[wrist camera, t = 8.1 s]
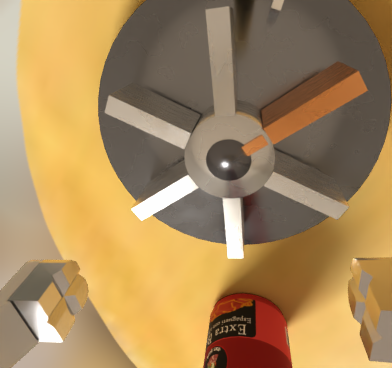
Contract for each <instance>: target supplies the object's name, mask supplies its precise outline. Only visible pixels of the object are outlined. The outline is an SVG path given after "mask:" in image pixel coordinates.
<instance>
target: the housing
mask: <svg viewBox="0 0 392 368" xmlns="http://www.w3.org/2000/svg"><path fill="white" fill-rule="evenodd" d="M226 6H230V7H231V8H233V13H234V33H235V52H236V72H237V91H238V100H241V101H245V102H248V103H250V104H252V105H254V106H255V107H257V108H258V109H259V110H260V111H261V110H262V109H264V108H265V107H267V106H268V105H270V104H271V103H273V102H274V101H276V100H278V99H279V98H281V97H282V96H284V95H285V94H287V93H289V92H290V91H292V90H293V89H295V88H296V87H298V86H299V85H301V84H303V83H304V82H306V81H307V80H309V79H310V78H312V77H313V76H315V75H317V74H318V73H320V72H321V71H323V70H324V69H326V68H327V67H329V66H331V65H332V64H334V63H335V62H337V61H339V62H341V63H343V64H345V65H347V66H349V67H351V68H353V69H356V70H358V71H359V73H360V75H361V77H362V79H363V81H364V83H365V85H366V87H367V90H368V91H366V92H365V93H363V94H361V95H359V96H358V97H356V98H354V99H352V100H351V101H349V102H347V103H345V104H344V105H342V106H340V107H338V108H337V109H335V110H333V111H331V112H330V113H328V114H326V115H325V116H323V117H321V118H319V119H318V120H316V121H314V122H312V123H311V124H309V125H307V126H305V127H304V128H302V129H300V130H298V131H297V132H295V133H293V134H291V135H290V136H288V137H286V138H284V139H283V140H281V141H279V142H277V143H276V144H273V146H274V149H275V150H277V151H279V152H281V153H283V154H285V155H287V156H289V157H292V158H294V159H296V160H298V161H300V162H302V163H304V164H306V165H309V166H311V167H313V168H315V169H317V170H319V171H321V172H323V173H326V174H328V175H330V176H332V177H334V179H335V181H336V183H337V185H338V187H339V188H340V190H341V192H342V194H343V196H344V198H345V200H346V202H347V201H348V200H349V199H350V198H351V197H352V196H353V195H354V194H355V193H356V192H357V191H358V189H359V188H360V187H361V185H362V184H363V183H364V181H365V180H366V179H367V177H368V176H369V174H370V172H371V170H372V169H373V167H374V165H375V163H376V162H377V160H378V157H379V155H380V152H381V150H382V147H383V145H384V142H385V138H386V134H387V130H388V126H389V120H390V110H391V90H390V79H389V74H388V70H387V65H386V60H385V58H384V55H383V53H382V50H381V47H380V45H379V42H378V40H377V38H376V36H375V35H374V33H373V31H372V30H371V28H370V26H369V25H368V23H367V21H366V20H365V18H364V17H363V16H362V15H361V14H360V13H359V11H358V10H357V9H356V8H355V7H354V6H353V4H352V3H351V2H350V1H349V0H146V1H145V2H144V3H143V4H142V5H140V6H139V7H138V8H137V9H136V10H135V12H134V13H133V14H132V15H131V17H130V18H129V19H128V20H127V22H126V23H125V24H124V25H123V27H122V29H121V30H120V32H119V34H118V36H117V37H116V39H115V41H114V42H113V44H112V47H111V49H110V52H109V54H108V56H107V59H106V61H105V65H104V69H103V72H102V76H101V81H100V88H99V96H98V116H99V124H100V131H101V136H102V139H103V143H104V147H105V150H106V153H107V155H108V158H109V160H110V163H111V165H112V167H113V169H114V170H115V172H116V174H117V176H118V178H119V179H120V181H121V182H122V184H123V185H124V186H125V188H126V189H127V191H128V192H129V193H130V194H131V195H132V196H133V197H134V199H135V200H136V201H137V199H138V198H139V196H140V194H141V193H142V191H143V190H144V188H145V186H146V185H147V183H148V182H150V181H151V180H153V179H154V178H156V177H158V176H159V175H161V174H162V173H164V172H165V171H167V170H169V169H170V168H172V167H173V166H175V165H176V164H178V163H179V162H181V161H183V160H184V159H185V158H184V156H185V149H182V148H180V147H178V146H176V145H173V144H171V143H169V142H167V141H165V140H163V139H160V138H158V137H156V136H154V135H152V134H150V133H147V132H145V131H143V130H141V129H139V128H136V127H134V126H132V125H130V124H128V123H126V122H123V121H121V120H119V119H117V118H115V117H113V116H110V115H108V114H106V113H105V109H106V105H107V101H108V97H109V95H110V94H112V93H114V92H116V91H118V90H119V89H121V88H123V87H125V86H127V85H129V84H131V83H134V84H136V85H138V86H141V87H143V88H145V89H147V90H149V91H151V92H153V93H155V94H158V95H160V96H162V97H164V98H166V99H168V100H170V101H172V102H175V103H177V104H179V105H181V106H183V107H185V108H187V109H190V110H192V111H194V112H196V113H198V114H200V117H201V115H202V114H203V113H204V112H205V111H206V110H207V109H208V108H209V107H210V106H212V105H214V98H213V87H212V76H211V66H210V55H209V44H208V33H207V22H206V11H205V10H206V9H213V8H220V7H226ZM185 148H186V147H185ZM243 208H244V245H247V244H260V243H266V242H273V241H276V240H280V239H284V238H288V237H290V236H293V235H296V234H298V233H301V232H303V231H305V230H307V229H309V228H311V227H313V226H315V225H317V224H319V223H320V222H322V221H323V220H325V219H326V218H328V217H329V216H328V215H326V214H324V213H321V212H319V211H317V210H315V209H313V208H311V207H308V206H306V205H304V204H302V203H300V202H298V201H295V200H293V199H291V198H289V197H287V196H284V195H282V194H280V193H278V192H276V191H274V190H271V189H269V188H267V187H265V186H264V185H263V186H262V187H261V188H260V189H259V190H257V191H256V192H254V193H252V194H250V195H247V196H244V197H243ZM152 215H153V216H155V217H156V218H157V219H159V220H160V221H162V222H163V223H165V224H167V225H168V226H170V227H172V228H174V229H176V230H178V231H180V232H182V233H184V234H187V235H190V236H193V237H196V238H198V239H202V240H207V241H211V242H216V243H223V244H227V241H226V230H225V219H224V208H223V198H220V197H217V196H214V195H211V194H209V193H207V192H205V191H204V190H202V189H201V188H200V187H199V188H197V189H196V190H194V191H192V192H190V193H189V194H187V195H185V196H183V197H182V198H180V199H178V200H176V201H175V202H173V203H171V204H169V205H168V206H166V207H164V208H162V209H161V210H159V211H157V212H155V213H154V214H152Z"/></svg>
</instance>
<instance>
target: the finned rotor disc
mask: <svg viewBox="0 0 392 368" xmlns="http://www.w3.org/2000/svg"><path fill="white" fill-rule="evenodd" d="M205 11H206V22H207V33H208V44H209V55H210V66H211V76H212V87H213V98H214V105H212V106H210V107H209V108H208V109H207V110H206V111H205V112H204V113H203V114H202V115H201V117H200V114H198V113H196V112H194V111H192V110H190V109H187V108H185V107H183V106H181V105H179V104H177V103H175V102H172V101H170V100H168V99H166V98H164V97H162V96H160V95H158V94H155V93H153V92H151V91H149V90H147V89H145V88H143V87H141V86H138V85H136V84H134V83H131V84H129V85H127V86H125V87H123V88H121V89H119V90H118V91H116V92H114V93H112V94H110V95H109V97H108V101H107V105H106V109H105V113H106V114H108V115H110V116H113V117H115V118H117V119H119V120H121V121H123V122H126V123H128V124H130V125H132V126H134V127H136V128H139V129H141V130H143V131H145V132H147V133H150V134H152V135H154V136H156V137H158V138H160V139H163V140H165V141H167V142H169V143H171V144H173V145H176V146H178V147H180V148H182V149H185V156H184V158H185V159H184V160H183V161H181V162H179V163H178V164H176V165H175V166H173V167H172V168H170V169H169V170H167V171H165V172H164V173H162V174H161V175H159V176H158V177H156V178H154V179H153V180H151V181H150V182H148V183H147V185H146V186H145V188H144V190H143V191H142V193H141V194H140V196H139V198H138V199H137V201H136V202H135V204H134V206H133V207H132V209H131V210H132V211H133V212H134V213H135V214H136V215H137V216H138V217H139V218H140V219H141V220H143V219H145V218H147V217H148V216H150V215H152V214H154V213H155V212H157V211H159V210H161V209H162V208H164V207H166V206H168V205H169V204H171V203H173V202H175V201H176V200H178V199H180V198H182V197H183V196H185V195H187V194H189V193H190V192H192V191H194V190H196V189H197V188H199V187H200V188H201V189H202V190H204V191H205V192H207V193H209V194H211V195H214V196H217V197H220V198H223V208H224V219H225V230H226V241H227V251H228V258H242V259H244V208H243V197H244V196H247V195H250V194H252V193H254V192H256V191H257V190H259V189H260V188H261V187H262V186H263V185H264V186H265V187H267V188H269V189H271V190H274V191H276V192H278V193H280V194H282V195H284V196H287V197H289V198H291V199H293V200H295V201H298V202H300V203H302V204H304V205H306V206H308V207H311V208H313V209H315V210H317V211H319V212H321V213H324V214H326V215H328V216H330V217H332V218H334V219H337V220H338V219H339V218H340V217H341V216H342V214H343V213H344V212H345V211H346V210H347V209H348V208H349V205H348V203H347V202H346V200H345V198H344V196H343V194H342V192H341V190H340V188H339V187H338V185H337V183H336V181H335V179H334V177H332V176H330V175H328V174H326V173H323V172H321V171H319V170H317V169H315V168H313V167H311V166H309V165H306V164H304V163H302V162H300V161H298V160H296V159H294V158H292V157H289V156H287V155H285V154H283V153H281V152H279V151H277V150H275V149H274V146H273V144H276V143H277V142H279V141H281V140H283V139H284V138H286V137H288V136H290V135H291V134H293V133H295V132H297V131H298V130H300V129H302V128H304V127H305V126H307V125H309V124H311V123H312V122H314V121H316V120H318V119H319V118H321V117H323V116H325V115H326V114H328V113H330V112H331V111H333V110H335V109H337V108H338V107H340V106H342V105H344V104H345V103H347V102H349V101H351V100H352V99H354V98H356V97H358V96H359V95H361V94H363V93H365V92H366V91H368V90H367V87H366V85H365V83H364V81H363V79H362V77H361V75H360V73H359V71H358V70H356V69H353V68H351V67H349V66H347V65H345V64H343V63H341V62H339V61H337V62H335V63H334V64H332V65H331V66H329V67H327V68H326V69H324V70H323V71H321V72H320V73H318V74H317V75H315V76H313V77H312V78H310V79H309V80H307V81H306V82H304V83H303V84H301V85H299V86H298V87H296V88H295V89H293V90H292V91H290V92H289V93H287V94H285V95H284V96H282V97H281V98H279V99H278V100H276V101H274V102H273V103H271V104H270V105H268V106H267V107H265V108H264V109H262V110H261V111H260V110H259V109H258V108H257V107H255V106H254V105H252V104H250V103H248V102H245V101H241V100H238V91H237V72H236V52H235V33H234V13H233V8H231V7H230V6H226V7H220V8H213V9H206V10H205ZM185 147H186V148H185Z"/></svg>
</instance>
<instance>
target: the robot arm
mask: <svg viewBox="0 0 392 368" xmlns="http://www.w3.org/2000/svg"><path fill="white" fill-rule="evenodd" d="M350 269H351V272H352V274H353V278H352V279H351V280H349V283H348V298H349V304H350V308H351V311H352V314H353V317H354V318H355V319H356V320H357V321H358V322H359V323H360V324H361V330H360V336H361V339H362V342H363V344H364V347H365V350H366V353H367V355H368V358H369V361H379V362H390V363H392V257H391V258H353V260H352V262H351V268H350ZM79 271H80V267H79V266H78V264H77V262H76V261H72V260H30V261H28V262H26V263H25V264H24V265H23V266H22V267H21V268H20V270H19V271H18V272H17V273H16V274H15V275H14V276H13V277H12V278H11V279H10V280H9V282H8V283H7V284H6V285H5V286H4V287H3V288H2V289H1V290H0V368H11V367H13V366H14V365H15V364H16V363H17V362H18V361H19V360H20V359H21V358H22V357H24V356H25V355H26V354H27V353H28V352H29V351H30V350H31V349H32V348H34V347H35V346H36V345H37V344H38V341H39V342H40V341H41V342H63V341H64V340H65V338H66V336H67V335H68V333H69V331H70V329H71V328H72V326H73V324H74V322H75V319H74V315H75V314H76V313H78V312H79V311H80V310H82V308H83V306H84V305H85V303H86V301H87V296H88V284H87V282H86V280H85V279H84V278H83V277H82V276H81V275H79Z"/></svg>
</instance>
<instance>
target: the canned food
mask: <svg viewBox="0 0 392 368" xmlns="http://www.w3.org/2000/svg"><path fill="white" fill-rule="evenodd" d="M203 368H292V362H291V354H290V346H289V338H288V330H287V324H286V321H285V319H284V316H283V314H282V312H281V311H280V309H279V308H278V307H277V306H276V305H275V304H274V303H272V302H271V301H269V300H267V299H265V298H263V297H260V296H257V295H253V294H243V293H241V294H233V295H229V296H226V297H224V298H222V299H221V300H219V301H218V302H217V304H216V305H215V307H214V309H213V311H212V313H211V316H210V323H209V330H208V338H207V345H206V352H205V359H204V367H203Z"/></svg>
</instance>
